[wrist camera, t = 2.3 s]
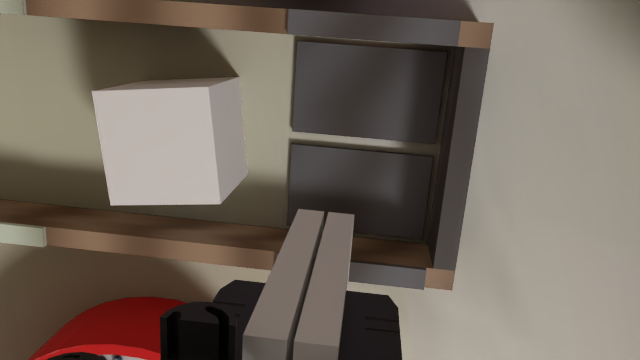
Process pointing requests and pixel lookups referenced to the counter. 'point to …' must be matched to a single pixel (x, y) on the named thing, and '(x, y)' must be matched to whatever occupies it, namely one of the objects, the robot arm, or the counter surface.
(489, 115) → the counter surface
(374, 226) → the wooden tray
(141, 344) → the toy clock
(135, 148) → the white cube
